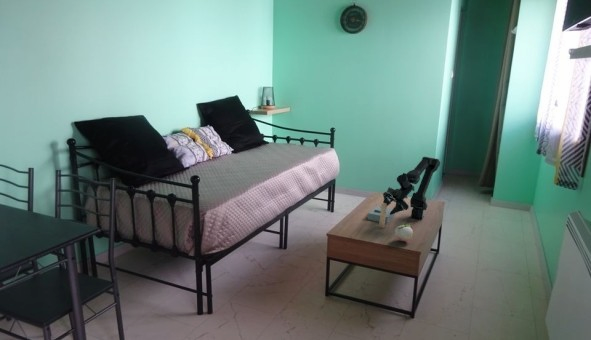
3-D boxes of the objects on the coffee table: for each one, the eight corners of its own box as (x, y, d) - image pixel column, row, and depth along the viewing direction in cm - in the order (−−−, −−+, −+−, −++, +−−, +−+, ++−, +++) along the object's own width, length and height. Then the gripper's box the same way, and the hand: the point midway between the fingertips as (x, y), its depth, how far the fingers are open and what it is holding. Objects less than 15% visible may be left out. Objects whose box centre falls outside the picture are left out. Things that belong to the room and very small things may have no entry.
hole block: (394, 215, 251) (395, 209, 250) (387, 223, 237) (387, 217, 236) (375, 211, 256) (376, 205, 255) (367, 219, 243) (368, 213, 242)
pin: (385, 226, 232) (387, 203, 229) (383, 228, 230) (385, 204, 226) (380, 225, 234) (382, 202, 230) (378, 227, 231) (380, 203, 228)
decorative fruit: (403, 246, 206) (405, 228, 204) (391, 240, 213) (393, 223, 210) (415, 242, 212) (417, 224, 210) (403, 237, 218) (405, 219, 216)
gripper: (387, 178, 236) (369, 197, 235) (406, 187, 219) (387, 208, 218) (396, 190, 241) (379, 209, 240) (416, 199, 224) (398, 220, 223)
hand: (385, 211), depth 230 cm, fingers open, 9 cm apart
